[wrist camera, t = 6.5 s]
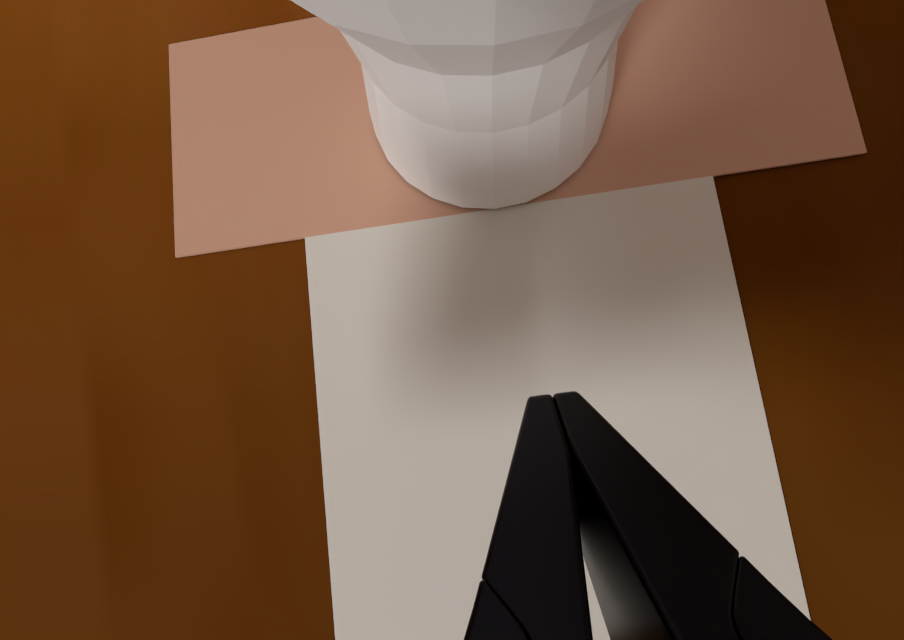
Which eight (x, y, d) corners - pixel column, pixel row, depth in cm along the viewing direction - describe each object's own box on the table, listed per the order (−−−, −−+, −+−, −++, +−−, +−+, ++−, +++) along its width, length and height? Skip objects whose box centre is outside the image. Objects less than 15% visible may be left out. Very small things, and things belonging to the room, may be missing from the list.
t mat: (992, 617, 12) (996, 619, 12) (190, 681, 14) (188, 683, 14) (802, -72, 15) (804, -75, 15) (170, 46, 17) (168, 44, 17)
